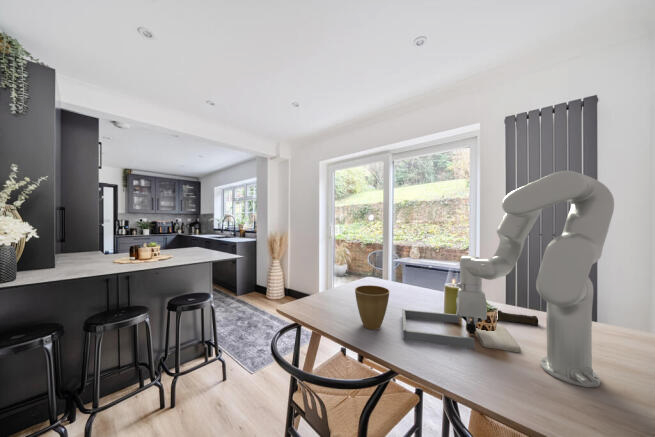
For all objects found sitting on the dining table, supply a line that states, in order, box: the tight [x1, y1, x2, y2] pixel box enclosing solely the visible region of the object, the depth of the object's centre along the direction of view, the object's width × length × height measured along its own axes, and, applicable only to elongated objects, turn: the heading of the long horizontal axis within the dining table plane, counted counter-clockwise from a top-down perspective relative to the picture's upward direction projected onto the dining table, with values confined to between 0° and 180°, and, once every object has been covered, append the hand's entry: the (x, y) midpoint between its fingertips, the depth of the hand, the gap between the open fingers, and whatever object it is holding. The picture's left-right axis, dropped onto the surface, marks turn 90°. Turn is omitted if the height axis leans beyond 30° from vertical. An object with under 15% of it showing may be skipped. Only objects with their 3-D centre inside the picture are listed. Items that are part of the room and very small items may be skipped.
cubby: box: [401, 309, 475, 350], centre depth 99 cm, size 22×24×4 cm
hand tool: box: [497, 309, 539, 327], centre depth 107 cm, size 19×4×5 cm, turn 64°
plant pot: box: [354, 284, 390, 331], centre depth 104 cm, size 15×15×16 cm
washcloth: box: [475, 325, 522, 353], centre depth 92 cm, size 12×18×3 cm, turn 161°
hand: (471, 332), depth 95 cm, fingers closed
